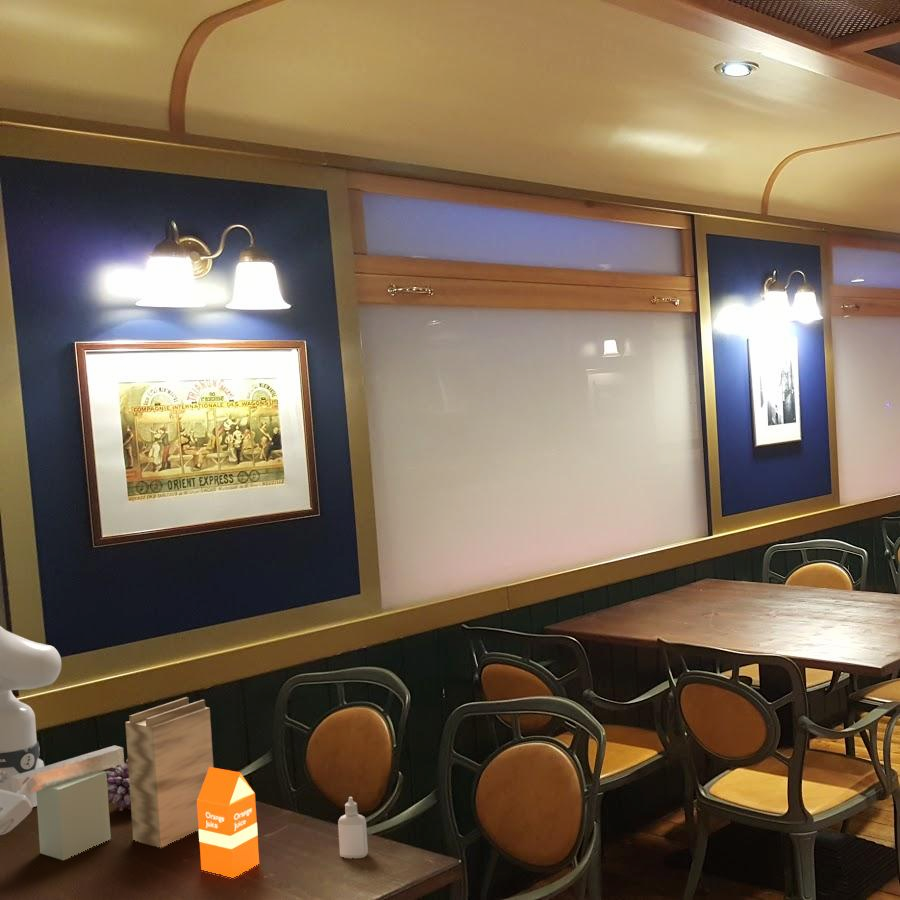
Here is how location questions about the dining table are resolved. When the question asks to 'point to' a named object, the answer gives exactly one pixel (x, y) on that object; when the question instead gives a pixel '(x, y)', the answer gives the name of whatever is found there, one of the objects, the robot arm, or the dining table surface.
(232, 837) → the orange juice
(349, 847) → the eye dropper bottle
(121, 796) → the flower
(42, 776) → the steel bar
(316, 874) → the dining table surface
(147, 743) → the oak stand
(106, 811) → the sage block
